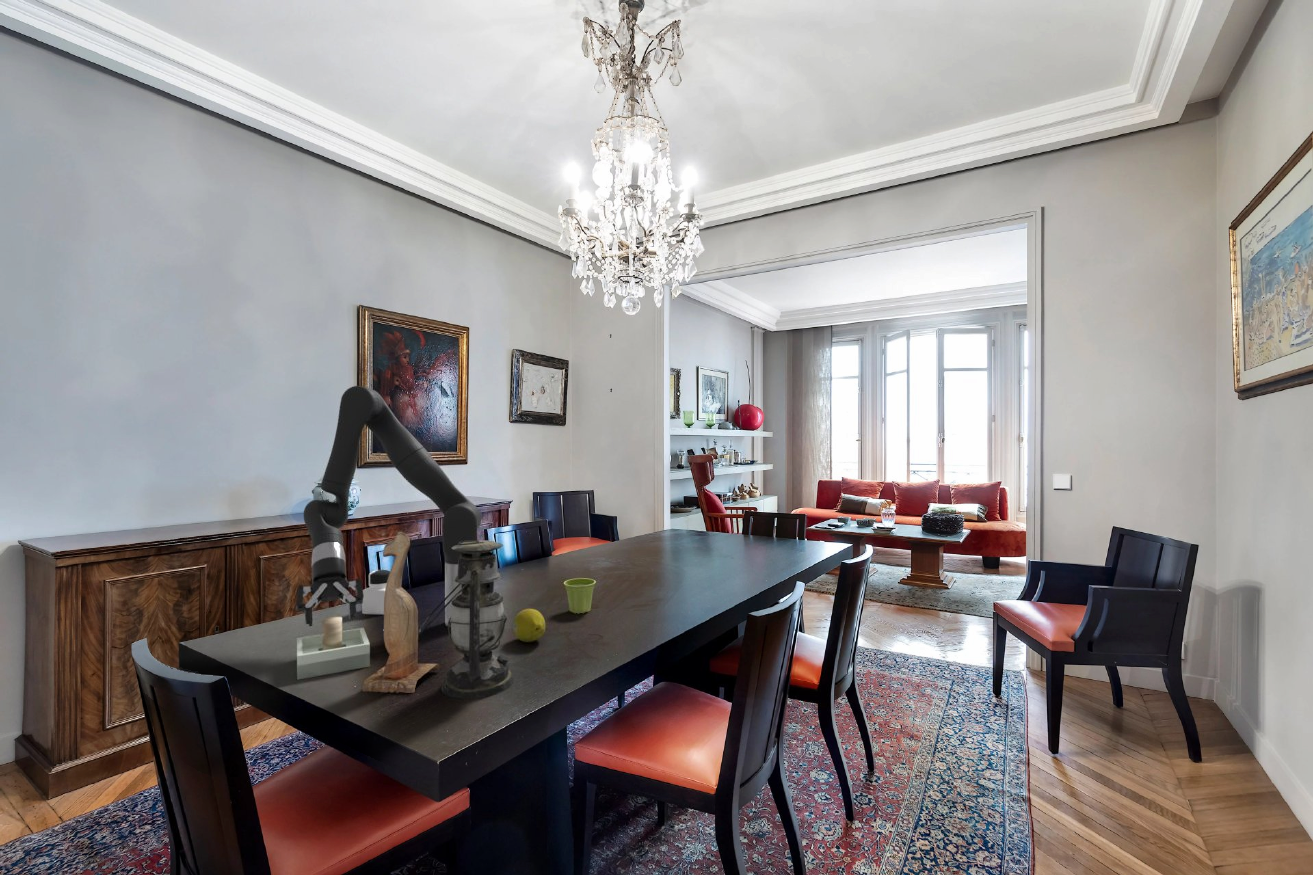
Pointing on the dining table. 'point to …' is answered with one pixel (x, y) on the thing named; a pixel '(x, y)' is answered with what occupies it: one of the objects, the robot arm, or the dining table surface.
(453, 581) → the robot arm
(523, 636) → the lemon
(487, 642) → the lantern
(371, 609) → the medicine bottle
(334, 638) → the peg
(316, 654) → the socket box
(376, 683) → the bird sculpture
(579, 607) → the plant pot
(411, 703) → the dining table surface
